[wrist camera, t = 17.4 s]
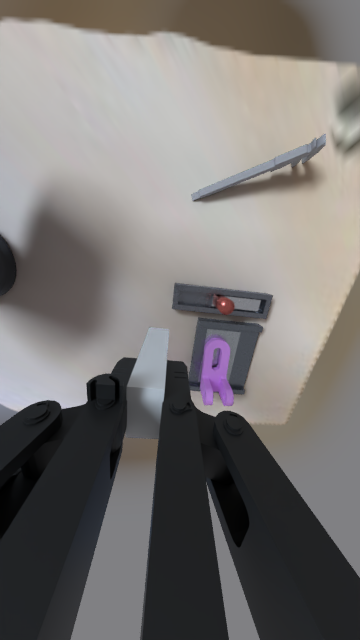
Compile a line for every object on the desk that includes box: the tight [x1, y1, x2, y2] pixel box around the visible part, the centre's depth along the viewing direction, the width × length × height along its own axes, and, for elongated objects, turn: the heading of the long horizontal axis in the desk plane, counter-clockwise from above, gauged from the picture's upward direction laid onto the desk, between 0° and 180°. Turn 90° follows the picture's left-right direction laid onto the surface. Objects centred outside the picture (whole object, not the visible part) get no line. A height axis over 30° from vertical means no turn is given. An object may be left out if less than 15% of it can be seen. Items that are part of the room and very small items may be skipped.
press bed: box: [189, 318, 263, 394], centre depth 40 cm, size 14×18×2 cm
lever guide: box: [172, 283, 273, 319], centre depth 36 cm, size 20×5×2 cm, turn 83°
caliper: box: [192, 134, 326, 201], centre depth 27 cm, size 20×1×6 cm, turn 107°
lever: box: [211, 294, 261, 315], centre depth 33 cm, size 10×3×6 cm, turn 83°
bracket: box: [200, 338, 234, 406], centre depth 36 cm, size 13×6×7 cm, turn 176°
